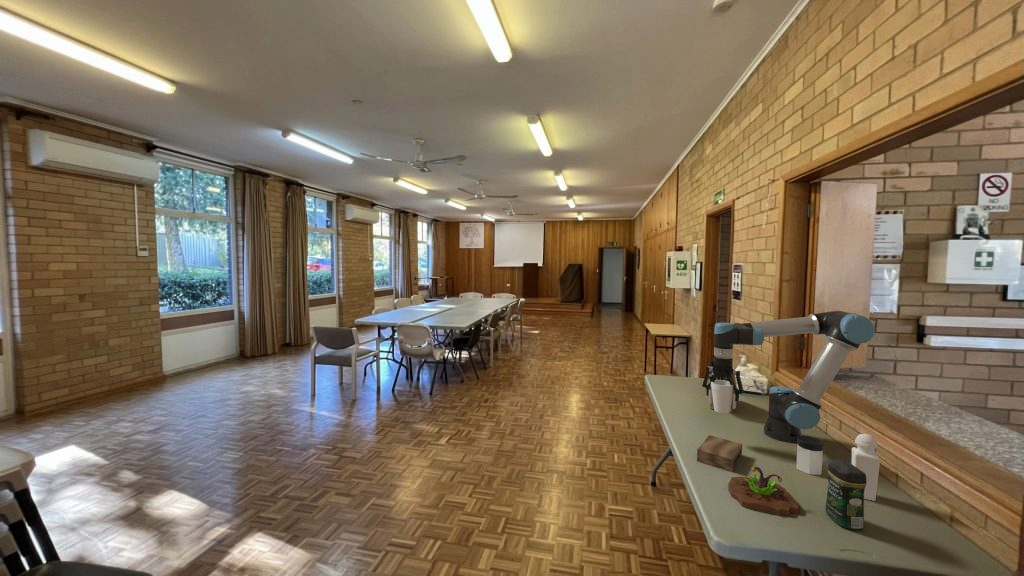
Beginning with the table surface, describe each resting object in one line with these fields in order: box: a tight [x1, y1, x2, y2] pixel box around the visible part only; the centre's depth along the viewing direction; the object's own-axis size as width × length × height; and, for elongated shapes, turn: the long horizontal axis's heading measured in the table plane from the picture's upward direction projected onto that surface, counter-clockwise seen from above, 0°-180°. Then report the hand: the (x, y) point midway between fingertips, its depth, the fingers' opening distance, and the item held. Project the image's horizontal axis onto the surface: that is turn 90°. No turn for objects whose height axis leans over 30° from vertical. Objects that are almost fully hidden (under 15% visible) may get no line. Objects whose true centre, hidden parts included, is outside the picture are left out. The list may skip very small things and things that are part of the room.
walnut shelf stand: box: [696, 434, 743, 472], centre depth 165 cm, size 13×18×5 cm
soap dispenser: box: [851, 433, 881, 502], centre depth 138 cm, size 6×6×22 cm
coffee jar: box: [824, 459, 867, 531], centre depth 124 cm, size 10×8×19 cm
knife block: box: [709, 358, 738, 414], centre depth 224 cm, size 11×35×31 cm, turn 143°
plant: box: [727, 466, 800, 517], centre depth 137 cm, size 20×20×11 cm
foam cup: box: [711, 380, 734, 414], centre depth 180 cm, size 10×9×13 cm
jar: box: [795, 435, 824, 476], centre depth 156 cm, size 9×8×12 cm
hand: (722, 405), depth 180 cm, fingers closed on foam cup, 9 cm apart
